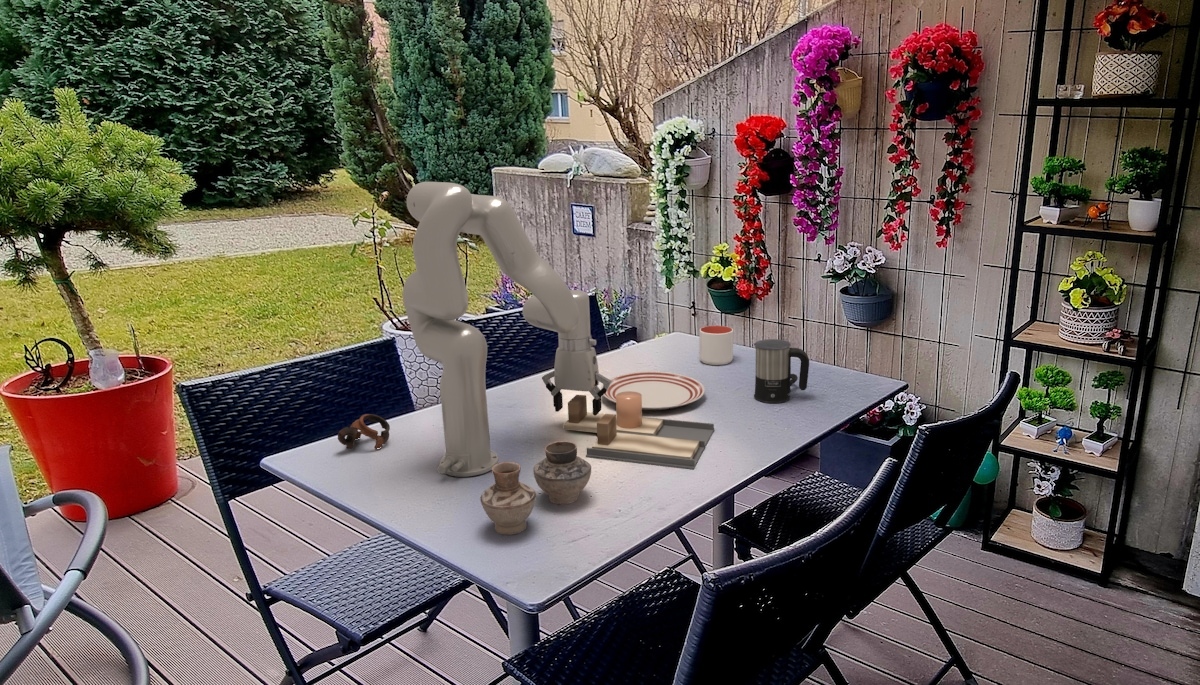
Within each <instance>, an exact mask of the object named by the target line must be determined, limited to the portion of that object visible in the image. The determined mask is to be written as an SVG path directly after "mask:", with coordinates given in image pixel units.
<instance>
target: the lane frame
mask: <svg viewBox="0 0 1200 685" xmlns="http://www.w3.org/2000/svg"><path fill="white" fill-rule="evenodd" d="M642 418H649V417H648V416H647V417H645V416H642ZM651 418H652V419H659V418H657V417H651ZM661 419H662V420H663V425H662V427H661V428H660V430H659V431H658V432H657V434H656V435H646V434H636V433H626V432H617V433H626V434H636V435H645V436H655V437H665V438H675V439H684V440H694V441H699V448H698V449H697V451H696V453H695V455H694V457H693V458H692V459H686V458H677V457H668V456H659V455H650V454H641V453H632V452H623V451H614V450H605V449H596V448H592V447H586V448H585V449H586V455H585V458H589V459H590V458H591V459H599V460H608V461H617V462H625V463H633V464H634V463H636V464H641V463H642V464H643V465H650V464H651V465H652V466H659V465H660V467H661V466H662V467H668V468H669V467H670V468H677V469H678V468H679V469H685V470H687V469H688V470H694V469H695V467H696V466H697V463H699V462H698V461H699V460H700V458H701V456H702V454H703V452H704V450H705V448H706V447H705V446H707V445H706V444H708V443H709V441H710V439H711V437H712V436H713V433H714V431H715V424H714V423H709V422H708V423H707V422H701V421H699V422H698V421H689V420H687V421H686V420H678V419H668V418H661ZM707 442H708V443H707Z"/></svg>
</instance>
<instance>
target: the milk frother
mask: <svg viewBox="0 0 1200 685" xmlns="http://www.w3.org/2000/svg"><path fill="white" fill-rule="evenodd" d="M791 345H792V343H791V342H790V341H789V340H788V341H787V340H784V339H776V338H773V339H772V338H768V339H761V340H758V341H755V342H754V343H753V346H754V347H755V375H754V376H755V380H754V382H755V384H754V394H753V398H754V399H755V400H756V401H758V402H761V403H767V404H780V403H785V402H787V401H789V400H790V393H791V387H792V385H794V384H795V383H796V382H797V381H798V388H799V390H801V391H805V390H806V389H807V387H808V379H809V369H810V358H809V356H808V354H807V352H806V351H804V350H803V349H802V348H798V347H791ZM791 358H798V359H799V360H800V369H799V377H798V375H797V374H794V373H791V372H792V371H791V370H792V368H791V367H792V366H791V365H792V364H791V362H792V360H791Z"/></svg>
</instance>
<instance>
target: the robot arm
mask: <svg viewBox="0 0 1200 685" xmlns="http://www.w3.org/2000/svg"><path fill="white" fill-rule="evenodd" d="M406 208H407V210H408V212H409V213H410V216H412V218H414V219H415V220H416V221H417V222H419V223H418V225H417V228H416V230H415V234H414V236H413V242H412V253H413V259H414V264H415V268H416V270H415V271H413V272H411V274H409V275H408V276H407V278H406V279H405V281H404V284H403V288H402V302H403V305H404V310H405V313H406V316H407V319H408V323H409V326H410V330H411V332H412V336H413V340H414V342H415V344H416V347H417V349H418V350H419V352H420V353H421V354H422V355H423V356H424V357H426V358H428V359H429V360H432V361H434V362H436V363H439V364H442V368H443V369H442V372H441V377H440V382H439V395H440V402H441V403H440V404H441V413H442V414H441V415H442V426H443V435H444V445H445V452H444V456H443V457H441V459H440V460H439V465H438V466H437V468H436V470H437V472H438V473H439V474H440V475H443V474H446V475H447V476H452V477H461V478H462V477H465V478H466V477H475V476H479V475H483V474H486V473H488V472H490V471H492V467H493V466H494V465H496V464H498V463H500V462H499V456H498V454H497V453H496V452H494V451H493V450H491V438H490V426H489V412H488V410H489V409H488V401H487V400H488V399H487V398H488V397H487V389H486V388H487V386H486V367H487V365H486V364H487V356H488V344H487V339H486V338H485V336H484V334H483V333H482V332H481V331H480V329H478V328H477V327H475V326H473V325H471V324H468V323H466V322H463V321H459V320H458V319H460V318H461V317H463V316H465V314H466V312H467V310H468V308H469V293H468V290H467V286H466V283H465V278H464V275H463V271H462V268H461V267H462V266H461V264H460V259H459V255H458V245H457V244H458V239H459V236H460V234H461V233H462V234H463V233H465V234H471V235H476V236H480V237H481V238H482V240H483V242H484V244H485V245H486V246H487V248H488V250H489V252H490V253H491V255H492V256H493V258H494V261H495V262H496V264H497V266H498V267H499V269H500V271H501V272H502V273H503V274H504V275H505V276H506V277H508V278H509V279H510V280H511V281H513V282H514V283H516V284H518V285H519V286H521V287H523V288H524V289H526V290H527V291H529V293H531V294H532V296H531V297H529V298H528V299H526V301H525V302H524V304H523V306H522V315H523V318H524V320H525V321H526V322H527V323H528V324H529V325H531V326H534V327H536V328H539V329H542V330H543V329H544V330H548V331H553V332H556V333H557V334H558V335H557V336H558V347H557V348H556V352H555V358H554V368H553V370H552V371H550V372H548V373H546V374H544V375H543V376H542V377H541V380H542V381H543V383H544V385H545V388H546V389H547V390H548V391H549V392H550V395H551V396H552V400H553V402H552V403H553V407H554V411H555V412H557V413H558V412H560V411H561V409H563V406H564V403H563V393H562V392H561V390H566V391H575V392H577V391H578V392H588V393H590V395H591V396H592V397H593V399H592V400H591V402H592V413H593V415H597V414H598V413H599V414H600V412H601V411H602V397H604V396H603V395H604V394H605V393H606V392H607V391H608V388H609V387H610V385H611V383H612V382H611V380H609V379H610V378H607V377H605V376H604V375H603V374H601V373H599V365H598V364H599V363H598V358H597V353H596V349H595V347H593V346H596V345H597V339H593V338H592V334H591V314H590V312H591V311H590V297H589V294H588V292H586V291H584V290H580V289H570V288H569V286H568V285H567V283H566V281H565V280H564V279H563V278H562V277H561V275H560V274H559V273H558V272H557V271H556V270H555V269H554V268H553V267H552V266H551V265H550V263H548V262H547V261H546V260H545V259H544V258H543V257H541V255H539V254H538V252H537V251H536V249H535V248H534V245H533V244H532V241H531V240H530V238H529V237H528V235H527V232H526V231H525V229H524V227H523V226H522V224H521V221H520V220H519V218H518V216H517V214H516V212H515V211H514V209H513V207H512V205H511V204H510V203H509V201H507V200H506V199H505V198H503V197H500V196H496V195H488V194H487V195H485V194H472V193H471V192H470V190H469V189H468V188H467V187H465V186H463V185H462V184H460V183H455V182H446V181H443V182H442V181H422V182H419V183H417V184H414V185H413V186H412V187H411V188H410V190H409V191H408V194H407V197H406ZM553 378H554V380H553V381H554V383H553V382H552V381H551V379H553ZM600 383H601V384H602V385H603V388H602V389H601V388H599V385H600Z"/></svg>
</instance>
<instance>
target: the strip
mask: <svg viewBox="0 0 1200 685" xmlns="http://www.w3.org/2000/svg"><path fill="white" fill-rule="evenodd" d="M604 414H605V415H604V416H603V417H602V418H601V419H600V420H599V421H598V422H597V433H596V434H597V435H596V436H597V437H596V438H597V440H596V441H595V443H593V445H592V446H591V448H596V449H605V450H614V451H623V452H632V453H641V454H650V455H659V456H668V457H677V458H686V459H692V458H693V457H694V455H695V453H696V451H697V449H698V448H699V441H694V440H684V439H675V438H665V437H655V436H645V435H636V434H626V433H617V431H616V415H617V414H616V413H615V414H614V413H604Z"/></svg>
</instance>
